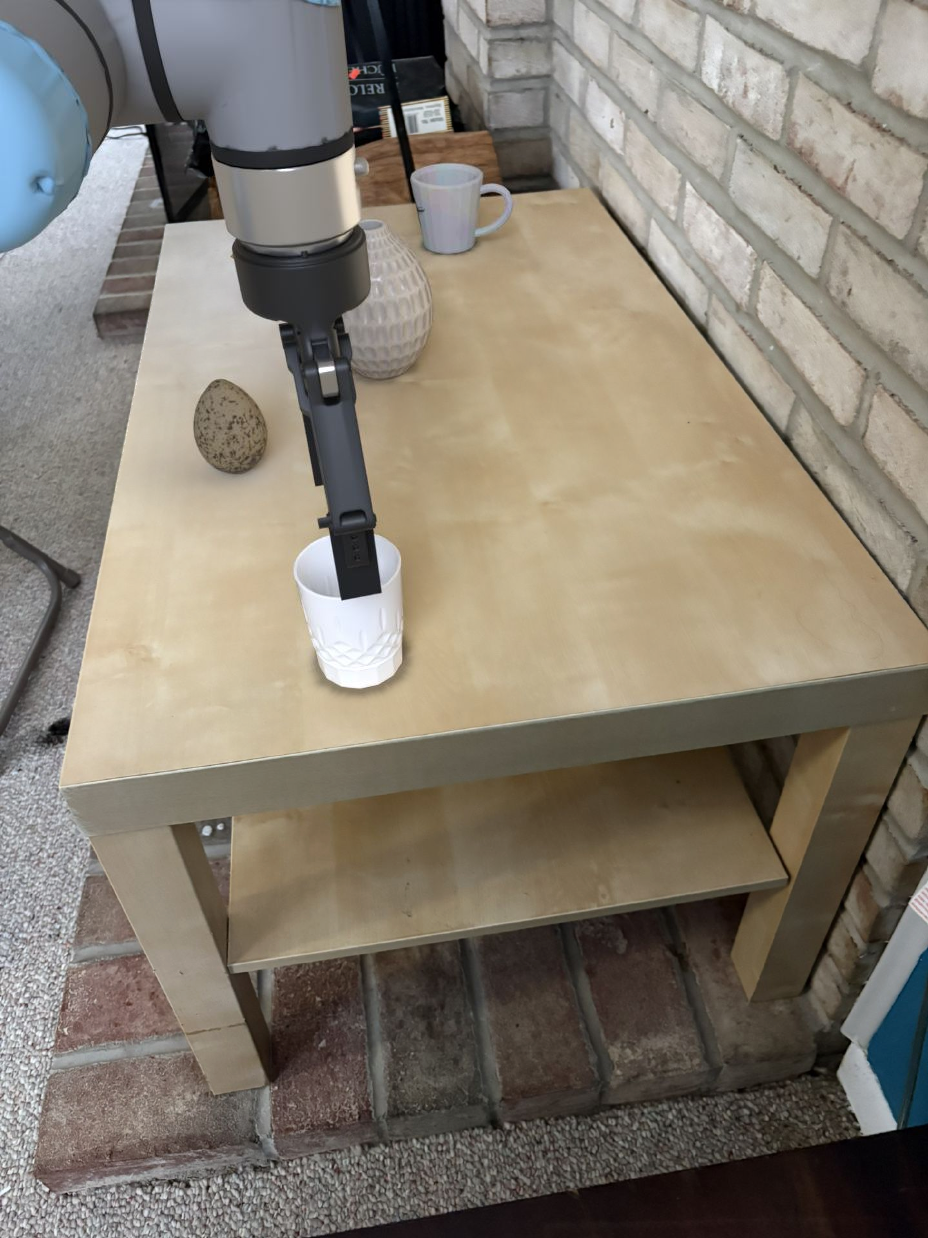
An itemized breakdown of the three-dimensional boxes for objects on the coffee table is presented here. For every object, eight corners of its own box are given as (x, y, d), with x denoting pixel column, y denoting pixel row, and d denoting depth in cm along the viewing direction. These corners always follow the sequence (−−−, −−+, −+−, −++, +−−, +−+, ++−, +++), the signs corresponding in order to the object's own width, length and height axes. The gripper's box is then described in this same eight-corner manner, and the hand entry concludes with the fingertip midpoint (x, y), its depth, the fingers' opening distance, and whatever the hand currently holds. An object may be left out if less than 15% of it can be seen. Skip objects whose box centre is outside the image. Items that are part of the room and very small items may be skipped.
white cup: (350, 711, 70) (334, 614, 63) (293, 657, 75) (272, 561, 68) (430, 660, 74) (422, 564, 67) (371, 612, 78) (358, 517, 71)
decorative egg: (189, 472, 95) (165, 384, 88) (243, 442, 99) (223, 356, 92) (235, 496, 91) (213, 407, 85) (288, 464, 95) (271, 376, 89)
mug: (423, 230, 142) (419, 160, 136) (518, 234, 140) (519, 164, 133) (407, 256, 135) (402, 184, 128) (507, 261, 132) (507, 188, 126)
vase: (331, 398, 105) (310, 252, 94) (327, 347, 114) (307, 208, 103) (443, 387, 106) (435, 241, 95) (429, 337, 115) (421, 199, 104)
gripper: (407, 313, 43) (434, 639, 57) (333, 156, 61) (368, 435, 75) (245, 337, 42) (315, 663, 56) (218, 169, 60) (276, 450, 74)
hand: (345, 533), depth 66 cm, fingers open, 13 cm apart
